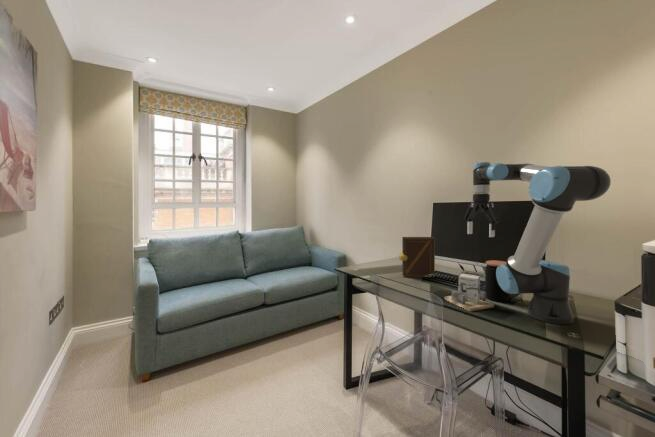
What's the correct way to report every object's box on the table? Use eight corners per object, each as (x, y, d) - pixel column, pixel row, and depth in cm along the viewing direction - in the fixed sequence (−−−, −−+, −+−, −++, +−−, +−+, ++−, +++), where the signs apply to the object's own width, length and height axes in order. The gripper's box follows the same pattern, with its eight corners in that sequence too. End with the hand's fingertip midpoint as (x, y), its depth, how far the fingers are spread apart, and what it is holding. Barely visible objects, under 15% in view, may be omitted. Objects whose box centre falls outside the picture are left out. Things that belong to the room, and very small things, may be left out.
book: (432, 274, 187) (432, 236, 186) (435, 278, 179) (436, 238, 177) (397, 274, 190) (397, 236, 189) (399, 277, 182) (399, 238, 180)
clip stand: (494, 307, 131) (494, 295, 131) (469, 311, 127) (470, 299, 126) (466, 296, 146) (467, 285, 146) (444, 299, 142) (444, 288, 141)
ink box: (457, 299, 137) (457, 275, 136) (460, 297, 141) (460, 273, 140) (477, 303, 131) (478, 278, 131) (479, 300, 135) (480, 276, 134)
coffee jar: (503, 295, 147) (504, 260, 146) (514, 302, 136) (515, 265, 135) (481, 294, 148) (481, 260, 147) (490, 302, 137) (491, 265, 136)
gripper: (509, 192, 134) (508, 237, 136) (467, 194, 158) (467, 232, 159) (497, 193, 132) (496, 238, 134) (456, 194, 156) (456, 233, 157)
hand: (480, 235), depth 146 cm, fingers open, 13 cm apart
